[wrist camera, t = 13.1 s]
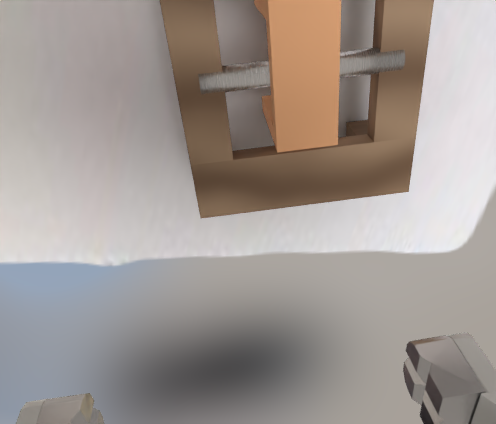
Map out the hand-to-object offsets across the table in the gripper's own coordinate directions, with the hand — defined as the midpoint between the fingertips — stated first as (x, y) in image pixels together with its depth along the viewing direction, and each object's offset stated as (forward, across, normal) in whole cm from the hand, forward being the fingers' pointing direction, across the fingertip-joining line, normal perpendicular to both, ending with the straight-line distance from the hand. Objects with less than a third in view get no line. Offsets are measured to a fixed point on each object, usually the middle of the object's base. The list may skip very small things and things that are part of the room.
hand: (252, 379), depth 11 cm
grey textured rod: (+21, -6, -2) cm, 22 cm away
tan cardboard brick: (+26, -6, -2) cm, 27 cm away
